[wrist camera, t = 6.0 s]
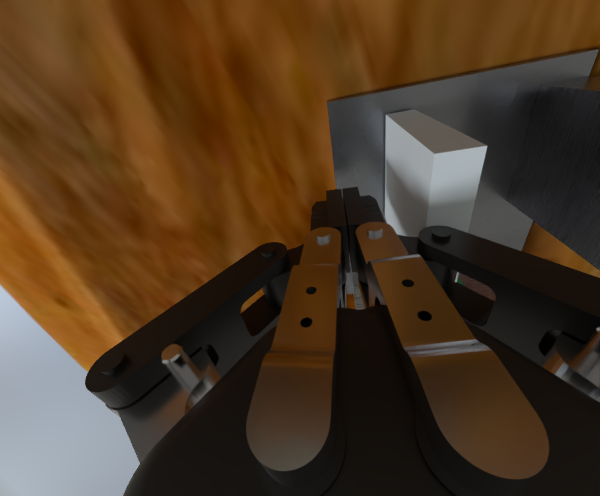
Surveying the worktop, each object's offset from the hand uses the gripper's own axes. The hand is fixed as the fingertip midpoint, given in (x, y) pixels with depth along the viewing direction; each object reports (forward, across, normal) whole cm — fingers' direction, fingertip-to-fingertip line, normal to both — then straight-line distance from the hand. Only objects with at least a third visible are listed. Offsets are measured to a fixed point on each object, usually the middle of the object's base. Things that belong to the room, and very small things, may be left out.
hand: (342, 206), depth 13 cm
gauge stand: (+5, -6, +3) cm, 8 cm away
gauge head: (+3, -3, +2) cm, 5 cm away
